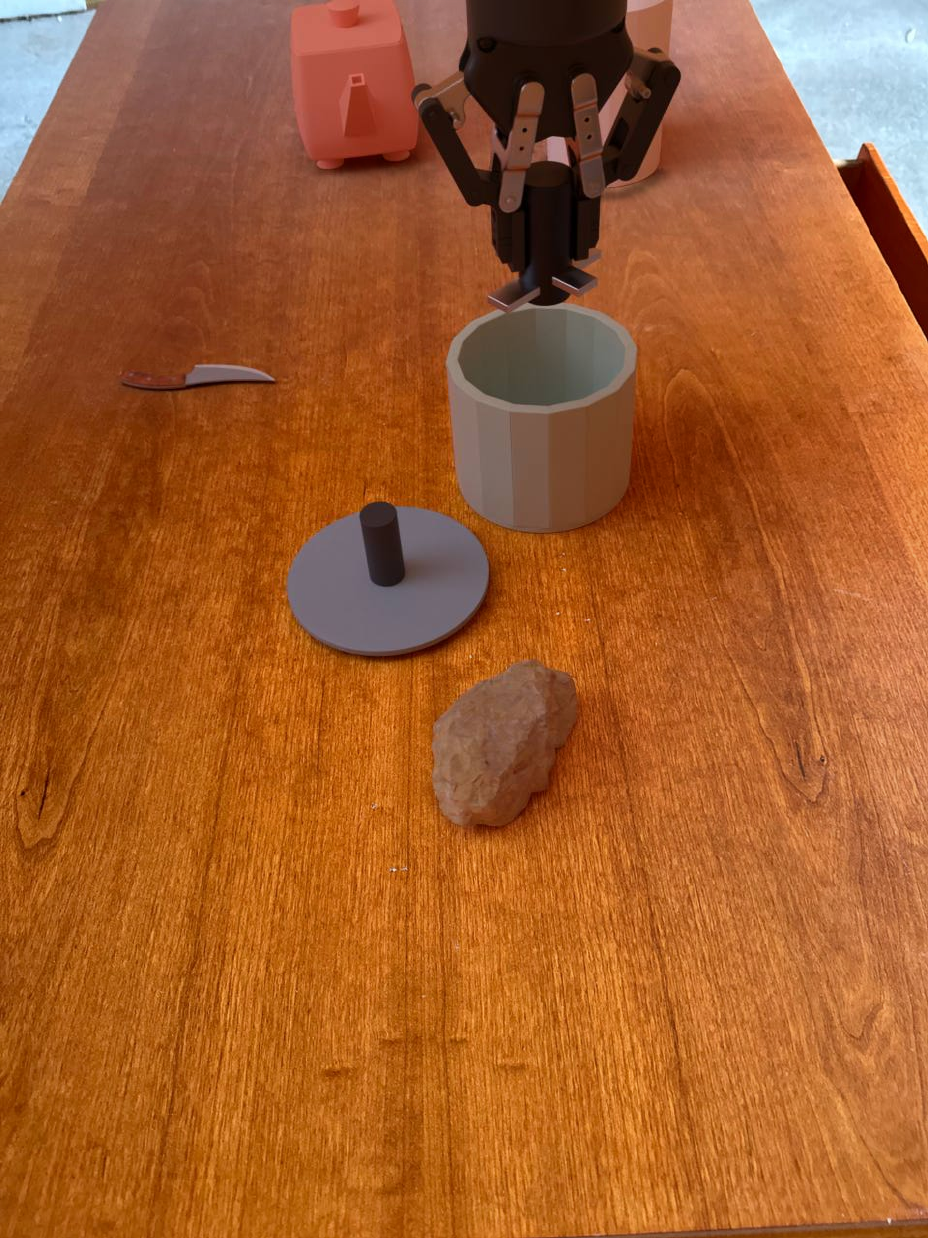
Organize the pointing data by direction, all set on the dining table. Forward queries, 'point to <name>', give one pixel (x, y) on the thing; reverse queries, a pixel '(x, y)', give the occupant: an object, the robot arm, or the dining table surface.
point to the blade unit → (547, 243)
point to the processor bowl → (542, 415)
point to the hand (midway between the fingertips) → (545, 257)
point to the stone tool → (501, 743)
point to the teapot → (352, 81)
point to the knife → (192, 376)
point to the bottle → (646, 31)
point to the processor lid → (388, 580)
